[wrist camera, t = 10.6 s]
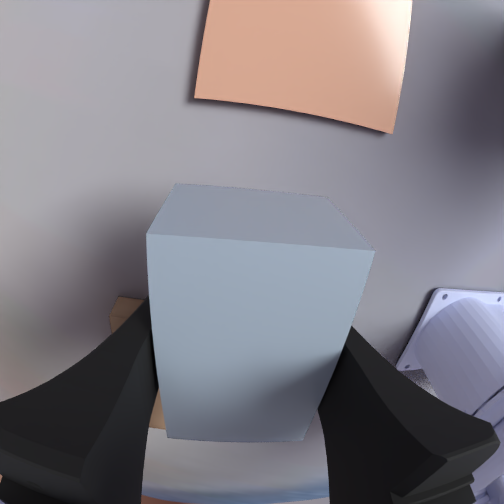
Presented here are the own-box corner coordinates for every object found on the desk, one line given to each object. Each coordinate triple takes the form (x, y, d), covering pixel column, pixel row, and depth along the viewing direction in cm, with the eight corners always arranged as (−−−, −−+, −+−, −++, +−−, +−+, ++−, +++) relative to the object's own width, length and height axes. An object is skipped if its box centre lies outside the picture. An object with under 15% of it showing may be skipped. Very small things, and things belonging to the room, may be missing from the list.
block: (327, 197, 10) (375, 251, 7) (287, 367, 14) (302, 440, 10) (175, 183, 10) (146, 233, 6) (177, 362, 13) (167, 437, 10)
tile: (408, -24, 11) (413, -26, 10) (387, 132, 15) (392, 134, 15) (227, -69, 10) (227, -74, 9) (195, 97, 14) (194, 97, 13)
